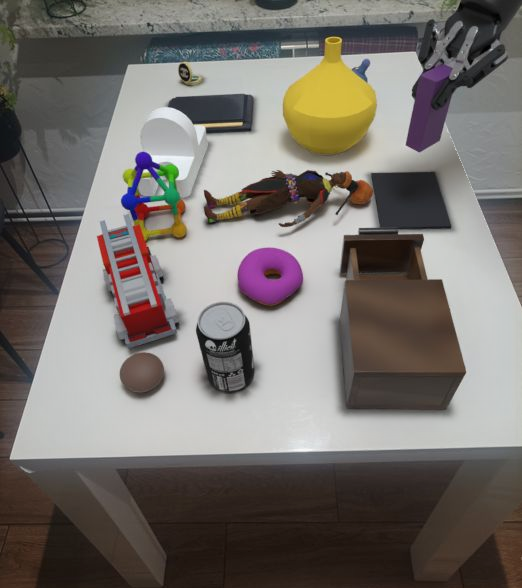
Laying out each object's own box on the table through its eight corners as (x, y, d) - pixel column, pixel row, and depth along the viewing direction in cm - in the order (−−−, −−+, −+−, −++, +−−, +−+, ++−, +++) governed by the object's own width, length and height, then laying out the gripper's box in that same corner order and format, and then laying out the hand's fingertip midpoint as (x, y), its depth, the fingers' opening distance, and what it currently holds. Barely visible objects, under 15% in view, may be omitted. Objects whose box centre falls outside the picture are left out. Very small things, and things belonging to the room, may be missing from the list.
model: (118, 245, 82) (113, 163, 71) (126, 211, 88) (123, 132, 77) (184, 252, 83) (190, 173, 73) (187, 219, 90) (193, 142, 79)
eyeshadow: (205, 79, 118) (202, 58, 114) (191, 87, 116) (188, 66, 112) (192, 75, 120) (189, 53, 116) (178, 83, 118) (175, 61, 114)
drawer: (338, 250, 78) (341, 216, 73) (409, 249, 78) (418, 215, 72) (345, 335, 68) (350, 303, 62) (428, 335, 67) (440, 303, 62)
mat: (434, 173, 91) (434, 171, 91) (451, 228, 82) (451, 226, 81) (371, 175, 92) (371, 172, 91) (380, 229, 82) (381, 227, 82)
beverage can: (232, 347, 69) (223, 290, 59) (264, 373, 66) (260, 318, 56) (198, 374, 66) (182, 320, 57) (229, 403, 63) (218, 350, 54)
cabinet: (339, 321, 71) (345, 280, 64) (426, 321, 70) (442, 279, 63) (346, 408, 62) (354, 372, 55) (446, 409, 61) (466, 372, 54)
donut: (266, 319, 72) (265, 299, 68) (224, 284, 76) (221, 263, 73) (315, 285, 75) (316, 264, 72) (272, 253, 80) (271, 232, 76)
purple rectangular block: (425, 133, 79) (442, 63, 70) (439, 141, 78) (458, 70, 69) (405, 145, 78) (419, 74, 69) (419, 152, 76) (436, 82, 67)
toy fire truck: (157, 258, 81) (142, 210, 73) (185, 339, 70) (171, 293, 62) (105, 273, 79) (84, 225, 71) (125, 358, 69) (103, 313, 60)
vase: (363, 116, 104) (376, 16, 89) (378, 164, 94) (395, 60, 78) (280, 121, 105) (279, 22, 89) (285, 170, 94) (284, 67, 78)
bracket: (188, 197, 90) (177, 141, 81) (138, 195, 91) (121, 139, 82) (209, 142, 101) (201, 87, 92) (163, 141, 102) (151, 86, 93)
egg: (120, 398, 65) (111, 383, 61) (127, 363, 68) (119, 346, 65) (164, 397, 64) (157, 381, 61) (169, 361, 68) (163, 345, 65)
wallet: (254, 89, 110) (251, 124, 101) (254, 98, 112) (251, 132, 103) (169, 92, 111) (158, 127, 102) (170, 100, 113) (160, 135, 104)
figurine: (202, 170, 88) (363, 135, 85) (214, 205, 95) (364, 174, 91) (202, 224, 79) (383, 187, 76) (215, 260, 86) (382, 227, 82)
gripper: (455, -48, 66) (379, 74, 71) (547, -24, 59) (455, 109, 65) (468, -12, 72) (397, 98, 78) (553, 13, 65) (468, 132, 71)
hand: (424, 102), depth 71 cm, fingers closed on purple rectangular block, 3 cm apart
